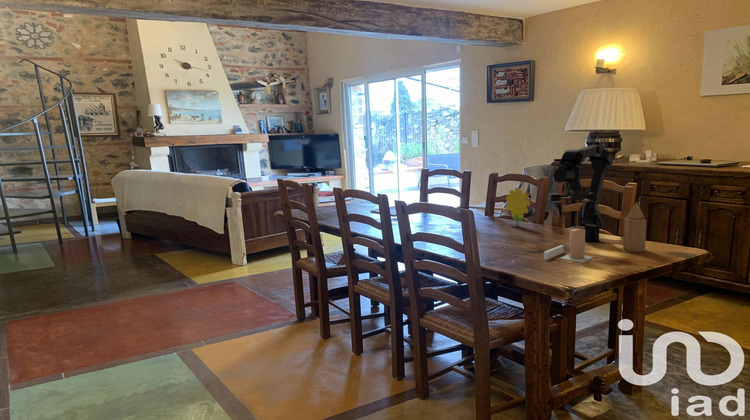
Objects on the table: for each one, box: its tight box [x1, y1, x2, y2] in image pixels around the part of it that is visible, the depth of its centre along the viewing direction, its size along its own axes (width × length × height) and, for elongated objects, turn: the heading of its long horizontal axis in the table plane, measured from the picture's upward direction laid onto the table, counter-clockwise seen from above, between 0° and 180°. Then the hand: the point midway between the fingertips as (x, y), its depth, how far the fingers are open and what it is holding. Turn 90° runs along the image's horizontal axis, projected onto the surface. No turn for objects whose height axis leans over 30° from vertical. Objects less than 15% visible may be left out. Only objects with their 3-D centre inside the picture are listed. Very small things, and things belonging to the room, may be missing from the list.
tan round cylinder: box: [568, 227, 586, 259], centre depth 188 cm, size 6×6×11 cm
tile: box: [559, 253, 594, 264], centre depth 189 cm, size 9×9×1 cm
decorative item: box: [505, 187, 531, 227], centre depth 252 cm, size 16×1×20 cm, turn 30°
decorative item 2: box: [622, 201, 647, 253], centre depth 196 cm, size 7×7×20 cm
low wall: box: [543, 244, 565, 261], centre depth 193 cm, size 14×1×3 cm, turn 133°
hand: (571, 217), depth 204 cm, fingers open, 9 cm apart
